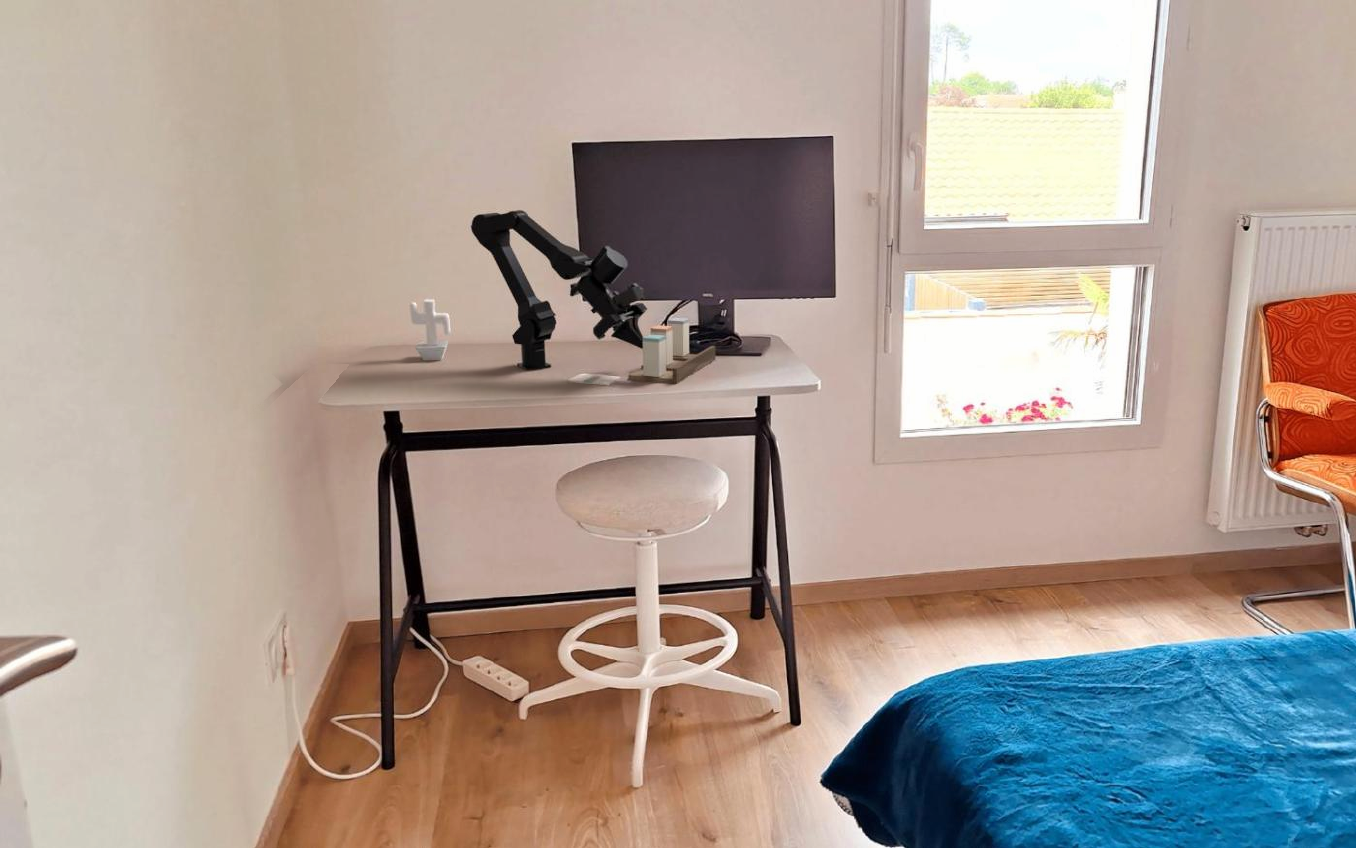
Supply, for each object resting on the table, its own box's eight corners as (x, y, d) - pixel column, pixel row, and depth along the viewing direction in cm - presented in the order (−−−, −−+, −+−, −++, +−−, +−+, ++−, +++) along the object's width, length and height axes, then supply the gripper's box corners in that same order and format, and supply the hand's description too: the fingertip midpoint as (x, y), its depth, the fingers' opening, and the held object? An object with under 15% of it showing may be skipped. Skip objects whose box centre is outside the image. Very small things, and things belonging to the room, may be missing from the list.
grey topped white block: (668, 355, 244) (668, 320, 242) (674, 352, 248) (674, 317, 245) (683, 356, 243) (683, 321, 240) (689, 353, 246) (688, 318, 244)
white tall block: (643, 375, 224) (642, 337, 221) (650, 371, 227) (649, 334, 225) (659, 376, 222) (658, 338, 220) (666, 373, 226) (665, 335, 223)
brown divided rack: (628, 379, 225) (628, 364, 224) (670, 356, 249) (670, 342, 248) (676, 383, 221) (676, 368, 220) (715, 359, 244) (715, 346, 243)
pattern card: (567, 381, 223) (567, 379, 223) (582, 374, 230) (582, 372, 230) (607, 385, 220) (607, 382, 220) (620, 378, 226) (620, 375, 226)
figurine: (450, 361, 245) (446, 301, 241) (412, 362, 244) (407, 302, 240) (454, 355, 252) (449, 296, 248) (416, 356, 251) (411, 297, 247)
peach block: (651, 364, 235) (650, 328, 232) (657, 361, 238) (657, 325, 236) (666, 365, 233) (666, 329, 231) (672, 362, 237) (672, 326, 234)
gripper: (603, 278, 213) (651, 331, 212) (638, 268, 229) (682, 317, 229) (573, 312, 218) (619, 364, 217) (609, 300, 234) (652, 348, 234)
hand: (645, 347), depth 224 cm, fingers closed, pressing on white tall block
